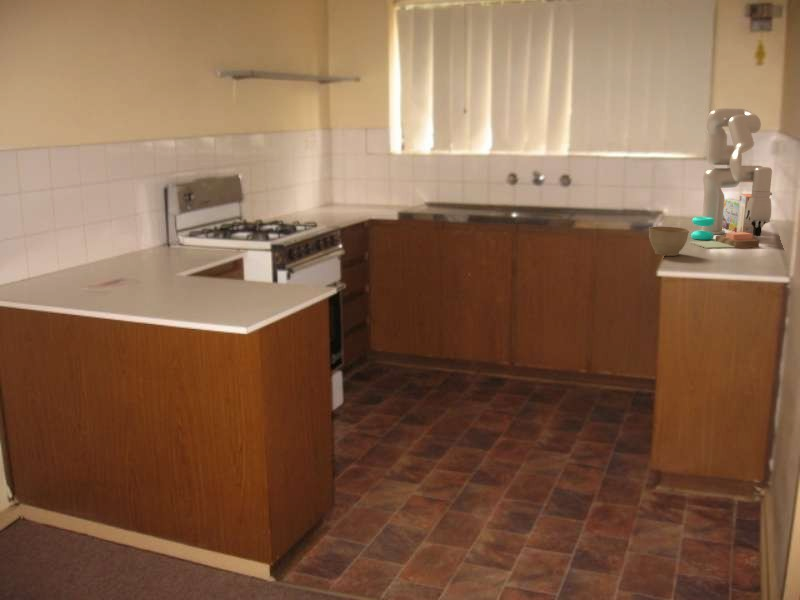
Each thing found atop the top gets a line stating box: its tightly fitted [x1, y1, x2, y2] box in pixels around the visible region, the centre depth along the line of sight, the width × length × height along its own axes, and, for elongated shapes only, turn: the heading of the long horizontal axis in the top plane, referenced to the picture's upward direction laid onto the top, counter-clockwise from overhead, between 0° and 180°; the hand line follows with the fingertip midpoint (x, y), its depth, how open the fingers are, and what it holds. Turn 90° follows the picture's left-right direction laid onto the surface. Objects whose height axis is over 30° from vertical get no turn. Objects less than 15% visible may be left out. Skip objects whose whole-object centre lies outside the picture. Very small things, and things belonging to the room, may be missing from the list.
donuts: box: [690, 216, 715, 241], centre depth 395 cm, size 10×10×10 cm
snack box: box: [722, 198, 740, 232], centre depth 421 cm, size 21×6×15 cm, turn 5°
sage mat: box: [689, 240, 736, 250], centre depth 377 cm, size 16×13×1 cm
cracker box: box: [737, 193, 756, 240], centre depth 392 cm, size 14×6×21 cm, turn 168°
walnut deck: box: [715, 235, 760, 249], centre depth 378 cm, size 17×11×3 cm, turn 9°
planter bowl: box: [648, 226, 690, 257], centre depth 353 cm, size 16×16×11 cm
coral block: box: [725, 231, 752, 239], centre depth 378 cm, size 6×9×2 cm, turn 99°
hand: (756, 235), depth 379 cm, fingers closed
